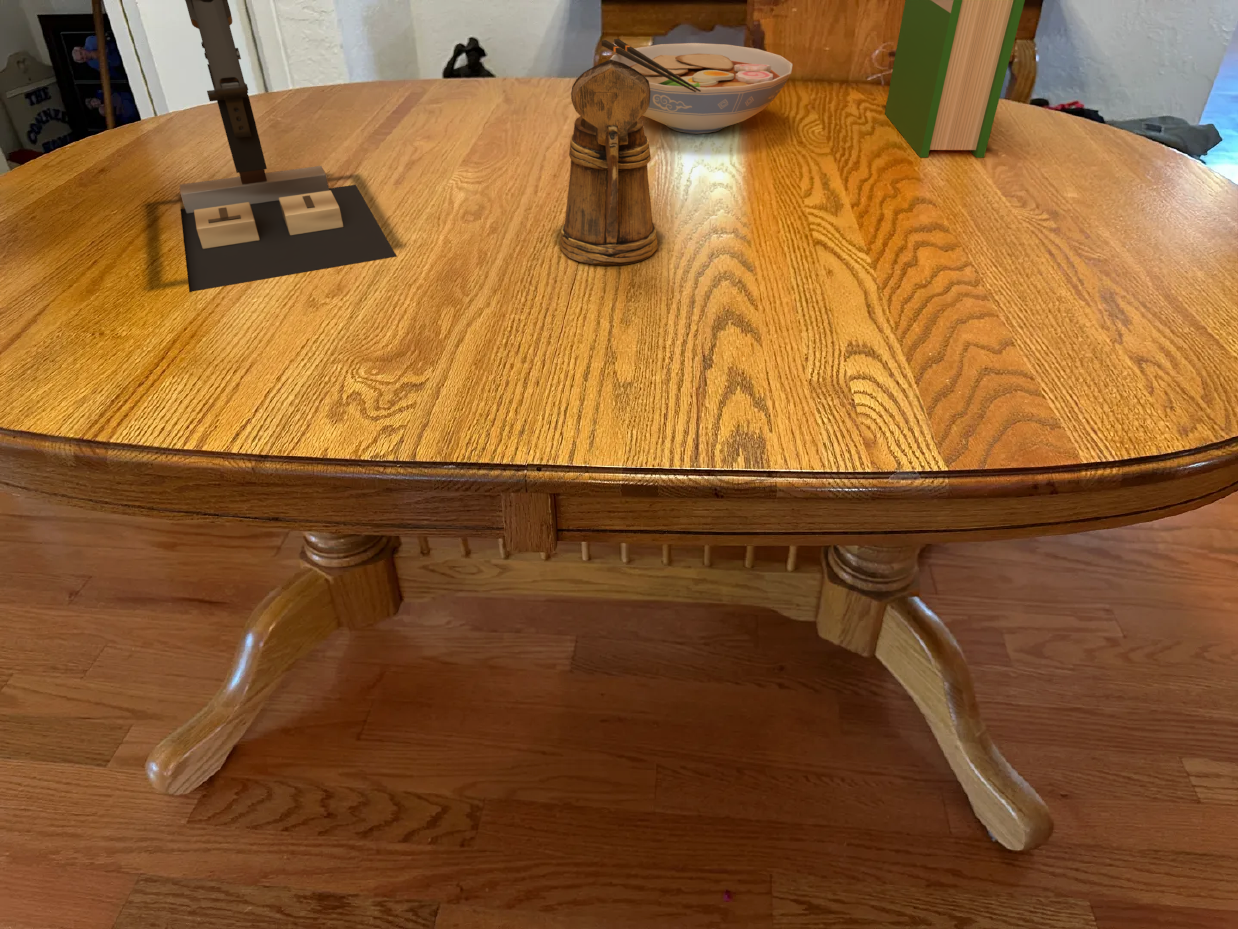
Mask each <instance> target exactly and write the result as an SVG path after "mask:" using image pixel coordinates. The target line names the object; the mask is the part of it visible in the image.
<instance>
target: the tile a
mask: <svg viewBox="0 0 1238 929" xmlns="http://www.w3.org/2000/svg"><path fill="white" fill-rule="evenodd" d="M194 214H195V221H196V228H197V232H198V235H199V238H200V241H201V245H202V248H203V249H207V248H213V247H220V246H226V245H232V244H239V243H245V242H251V241H258V240H260V238H259V235H258V231H257V227H256V223H255V220H254V216H253V213H252V210H251V206H250V203H249V202H246V203H239V204H232V205H225V206H218V207H211V208H204V209H197V210H194Z"/></svg>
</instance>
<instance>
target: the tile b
mask: <svg viewBox="0 0 1238 929" xmlns="http://www.w3.org/2000/svg"><path fill="white" fill-rule="evenodd" d="M279 202H280V206H281V210H282V214H283V217H284V220H285V223H286V226H287V228H288V231H289V234H290V235H297V234H303V233H309V232H316V231H322V230H328V229H335V228H341V227H343V222H342V217H341V212H340V208H339V206H338V204H337V202H336V200H335V198H334V196H333V194H332V192H331V190H329V191H322V192H315V193H308V194H301V195H294V196H287V197H280V198H279Z"/></svg>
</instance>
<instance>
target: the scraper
mask: <svg viewBox="0 0 1238 929" xmlns="http://www.w3.org/2000/svg"><path fill="white" fill-rule="evenodd" d="M232 81H234V80H232ZM223 82H227V81H223ZM238 174H239V176H233V177H225V178H218V179H211V180H203V181H196V182H188V183H181V184H179V191H180V192H179V193H180V197H181V201H182V203H183V207H184V209H185V210H186V213H194V210H197V209H204V208H211V207H218V206H225V205H232V204H239V203H246V202H249V203H250V204H257V203H264V202H271V201H278V200H279V198H280V197H287V196H294V195H301V194H308V193H315V192H322V191H329V188H330V187H329V182H328V176H327V173H326V172H325V170H324V167H323V166H322V165H316V166H308V167H302V168H294V169H285V170H279V171H272V172H266V171H265V169H263V170H255V171H248V172H240V173H238Z"/></svg>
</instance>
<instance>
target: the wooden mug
mask: <svg viewBox="0 0 1238 929" xmlns="http://www.w3.org/2000/svg"><path fill="white" fill-rule="evenodd" d="M609 59H610V58H609ZM609 59H608V60H605V61H603V62H601V63H598V64H596V65H595V66H593V67H591V68H588V69H587V70H585V71H584V72H582V73H581V74H580V76H578V77H577V78H576V79H575V81H574V83H573V84H572V87H571V93H570V99H571V103H572V106H573V108H574V110H575V112H576V113H577V114H578V115H579V116H578V117H577V118H576V119H575V120H574V126H573V134H571V136H570V141H569V151H568V156H569V159H570V169H569V179H568V180H569V181H568V190H567V197H566V208H565V218H564V223H563V224H562V227H561V230H560V241H559V242H560V243H559V245H560V251H562V253H563V254H564V255H565V256H567V258H569V259H571V260H573V261H577V262H578V263H581V264H585V265H591V266H601V267H609V266H617V267H620V266H627V265H632V264H635V263H639V262H641V261H642V262H643V261H644V260H645V261H646V260H647V259H649V258H651V256H652V255H653V254H654V253H655V252H656V251H657V250H658V236H657V227H656V225H655V223H654V220H653V213H652V212H653V211H652V203H651V195H650V194H651V193H650V185H649V184H650V183H649V175H648V174H649V172H648V164H649V163H650V162H651V160H652V156H651V155H652V154H651V148H650V147H651V146H650V141H649V139H648V137H647V135H646V132H645V127H644V120H643V119H642V118H641V117H642V116H643V114H644V113H645V112H646V110H647V109H648V107H649V103H650V86H649V81H648V80H647V79H646V78H645V77H644V75H642V74H641V73H639V72H638V71H637V70H635V69H633V68H631V67H630V66H628V65H626V64H624V63H621V62H618V61H615V60H612V59H610V60H609Z"/></svg>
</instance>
